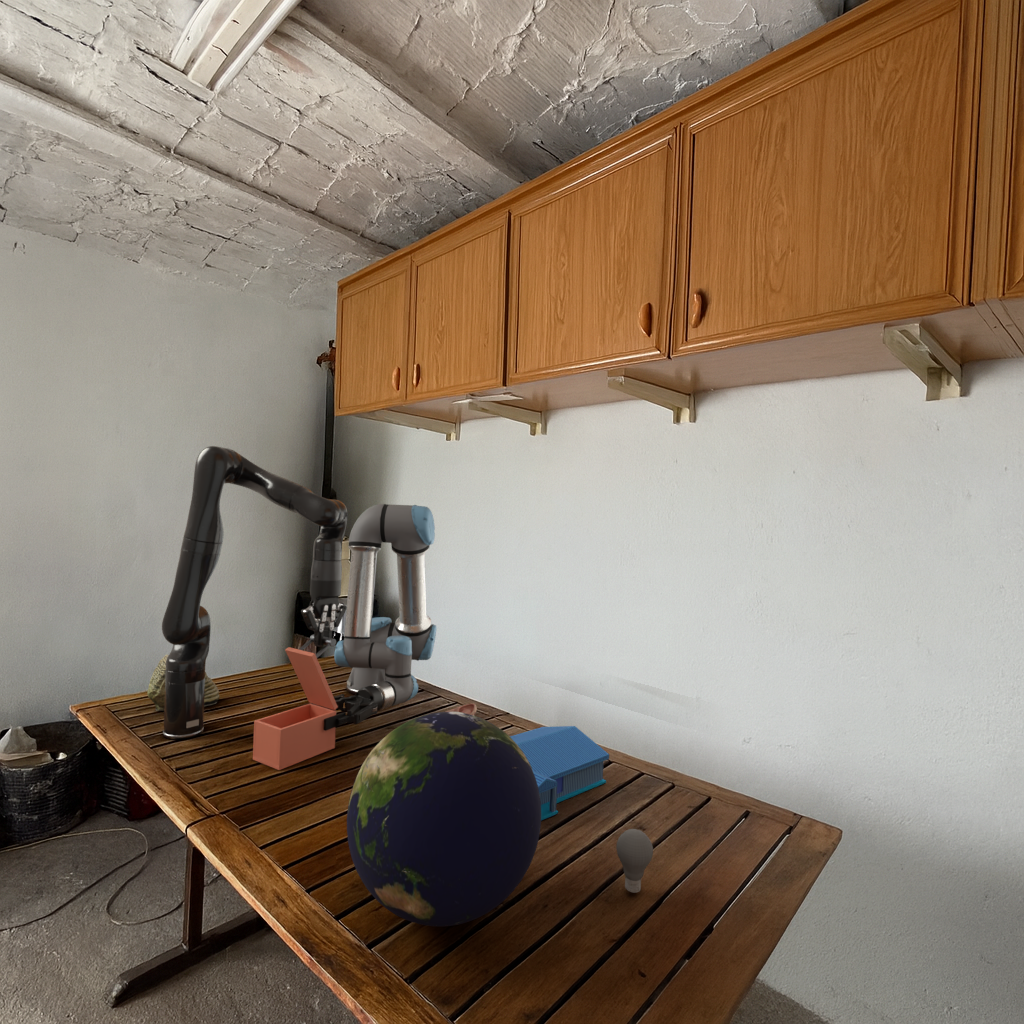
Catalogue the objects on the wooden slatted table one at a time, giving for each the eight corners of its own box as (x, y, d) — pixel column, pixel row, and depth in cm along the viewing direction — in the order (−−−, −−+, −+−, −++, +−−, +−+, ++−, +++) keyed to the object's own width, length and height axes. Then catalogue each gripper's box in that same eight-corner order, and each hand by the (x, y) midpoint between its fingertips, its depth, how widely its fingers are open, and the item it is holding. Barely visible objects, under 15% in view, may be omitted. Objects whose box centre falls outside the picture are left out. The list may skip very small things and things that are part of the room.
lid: (311, 656, 152) (336, 634, 158) (284, 649, 157) (310, 628, 163) (334, 710, 159) (357, 687, 165) (308, 702, 164) (331, 680, 171)
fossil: (144, 707, 182) (145, 655, 182) (212, 696, 194) (213, 647, 194) (151, 716, 175) (153, 662, 175) (221, 703, 188) (223, 653, 188)
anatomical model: (424, 710, 178) (437, 698, 190) (423, 724, 179) (436, 711, 190) (469, 715, 176) (480, 702, 187) (469, 729, 176) (479, 716, 187)
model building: (485, 844, 118) (488, 791, 117) (412, 795, 136) (414, 749, 136) (617, 787, 144) (619, 743, 144) (541, 752, 162) (543, 713, 162)
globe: (299, 937, 91) (307, 730, 90) (409, 838, 119) (415, 679, 118) (489, 1009, 80) (499, 773, 79) (561, 881, 107) (569, 705, 107)
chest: (279, 770, 146) (280, 729, 145) (252, 759, 151) (254, 720, 150) (334, 747, 160) (336, 711, 160) (308, 738, 165) (310, 703, 165)
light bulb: (610, 879, 108) (613, 822, 108) (644, 879, 109) (647, 822, 109) (619, 902, 102) (622, 840, 102) (655, 901, 103) (658, 840, 103)
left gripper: (314, 580, 153) (310, 652, 153) (356, 577, 165) (353, 643, 165) (294, 577, 157) (290, 647, 157) (336, 574, 169) (333, 639, 169)
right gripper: (403, 720, 172) (341, 745, 153) (345, 703, 184) (280, 724, 165) (404, 693, 172) (342, 714, 153) (346, 677, 184) (281, 696, 165)
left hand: (322, 645), depth 161 cm, fingers closed on lid, 2 cm apart
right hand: (310, 720), depth 159 cm, fingers closed on chest, 10 cm apart
